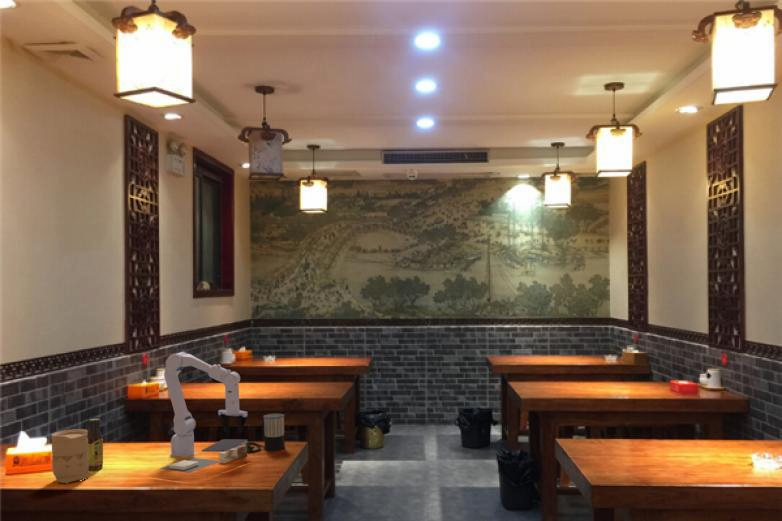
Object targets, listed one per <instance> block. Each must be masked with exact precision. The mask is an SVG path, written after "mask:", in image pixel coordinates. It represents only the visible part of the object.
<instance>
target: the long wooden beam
mask: <svg viewBox="0 0 782 521" xmlns="http://www.w3.org/2000/svg"><path fill="white" fill-rule="evenodd" d="M245 445H246V444H245ZM245 445H244V444H242V445H240V446H238V447H235V448H232V449H229V450H227V451H224V452H218V454H219V460H218V461H220V462H219V463H220V464H226V463H228V462H229V463H230V462H232V461H234V460H237V459H239V458H242V457H245V456H248V451H247V446H245Z"/></svg>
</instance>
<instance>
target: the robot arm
mask: <svg viewBox="0 0 782 521" xmlns="http://www.w3.org/2000/svg"><path fill="white" fill-rule="evenodd" d="M185 367H194V368H196V369H198V370H200V371H203V372H204V373H207V374H208V375H207V376H208V377H210V378H212V379H213V380H215V381H218V382H220V383H222V384H223V385H224V388H225V389H224V390H225V392H224V393H225V395H224V397H225V409H219V410H217V411H218V412H217V413H218V417H217V418H218V420H219V421H220V423H221V425H222V429H223V432H224V434H225V433H229V432H230V419H231V416H232V417H234V419H235V422H236V426H237V429H236V430H237V434H238V435H240V434H243V431H244V428H245V423H246V421H247V420H248V411H245V410H240V388H239V387H240V386H239V383H240V381H241V376H240V374H239V373H238V372H237V371H232V370H231V369H226V368H224V367H222V365H221V364H219V363H218V364H213V365H211V364H210V363H207V362H205V361H203V360H202V359H201V358H198V357H196V356H194V355H193V354H191V353H187V352H186V351H180V352H178V353H172V354H170V355H169V356H168V358H166V360H165V368H164V372H163V373H164V374H163V376H164V380H165V383H166V387H167V391H168V394H169V398H170V401H171V404H172V405H171V406H172V408H173V412H174V416H173V431H174V433H175V434H173V435H172V437H171V439H170V455H169V456H170V457H171V456H174V457H182V458H187V457H190V456H193V455H197V454H199V452H198V451H195V436H194V435H195V433H194V430H195V428H196V425H197V424H196V422H197V421H196V420H195V419H194V418H193V416H192V412H190V411H189V410H188V408H187V404H186V401H185V397H184V394H183V388H182V386H181V383H180V379H179V374H180V373H181V371H182V369H184V368H185Z"/></svg>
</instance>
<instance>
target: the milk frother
mask: <svg viewBox="0 0 782 521" xmlns="http://www.w3.org/2000/svg"><path fill="white" fill-rule="evenodd" d="M262 417H263V419H262V420H261V426H262V440H263V441H264V446H262V445H261V444H259V443H258V442H255V441H254V442H253V441H249V442H248V441H247V443H245V446H247V452H249V453H258V452H260V451H261V450H262V448H263V450H264V451H266V452H278V451H282V450H285V449H286V445H285V414H282V413H268V414H264V415H263V416H262ZM254 446H255V447H257V449H255V447H254Z"/></svg>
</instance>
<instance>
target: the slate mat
mask: <svg viewBox="0 0 782 521" xmlns="http://www.w3.org/2000/svg"><path fill="white" fill-rule="evenodd" d="M186 460H187V461H196V462H199V465H198V466H196V467H193V468H190V469H187V470H177V469H170V468H169V465H166V466H162V467H161V468H160V467H159V469H160V470H165V471H166V470H167V471H175V472H183V473H192V472H196V471H198V470H201V469H204V468H207V467H210V466H212V465H215V464H217V463H220V460H215V459H207V458H198V457H191V458H188V459H186Z"/></svg>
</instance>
